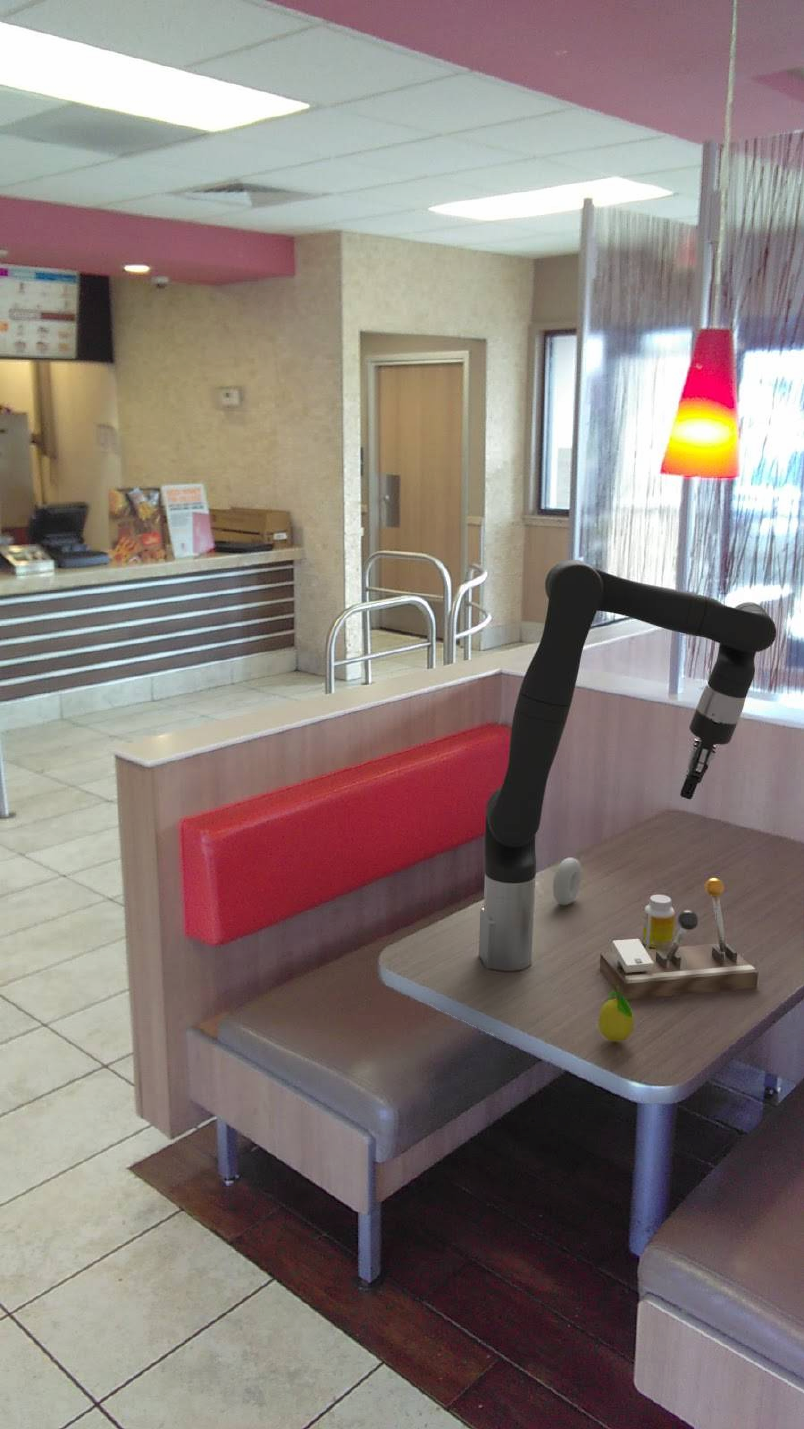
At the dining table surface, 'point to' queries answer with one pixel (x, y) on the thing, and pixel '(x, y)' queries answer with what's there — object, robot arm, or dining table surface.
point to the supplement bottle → (658, 923)
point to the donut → (567, 881)
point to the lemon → (616, 1018)
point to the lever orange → (717, 908)
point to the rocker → (632, 955)
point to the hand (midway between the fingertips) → (685, 796)
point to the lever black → (682, 930)
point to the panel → (682, 972)
